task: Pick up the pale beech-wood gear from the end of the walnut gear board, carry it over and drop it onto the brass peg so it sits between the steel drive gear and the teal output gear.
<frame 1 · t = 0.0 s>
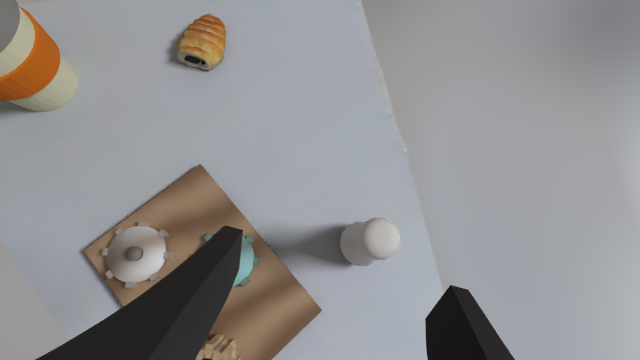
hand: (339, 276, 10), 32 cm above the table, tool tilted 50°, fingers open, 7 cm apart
reusable coffee cup: (47, 85, 46), on the table
wooden gear: (217, 358, 37), point 1 cm above the table, touching gear board
gear board: (205, 279, 40), on the table
salt shaker: (357, 244, 43), on the table
pastry: (205, 50, 49), on the table
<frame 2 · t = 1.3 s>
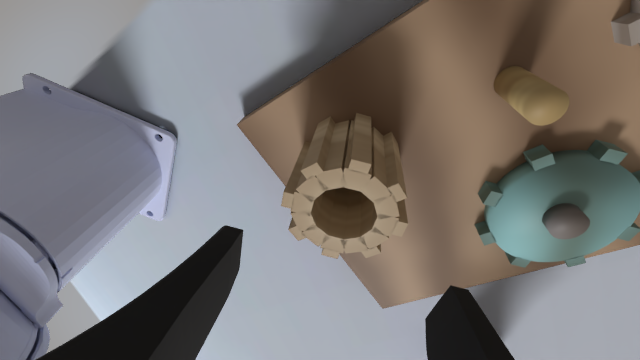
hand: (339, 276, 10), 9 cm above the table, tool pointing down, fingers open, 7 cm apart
wooden gear: (350, 159, 17), point 1 cm above the table, touching gear board
gear board: (523, 139, 17), on the table
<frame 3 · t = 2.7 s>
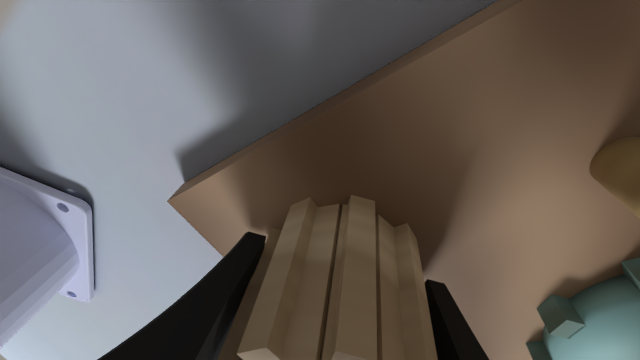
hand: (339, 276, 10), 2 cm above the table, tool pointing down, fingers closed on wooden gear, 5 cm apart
wooden gear: (341, 254, 11), point 1 cm above the table, touching gear board, gripper
gear board: (614, 233, 11), on the table
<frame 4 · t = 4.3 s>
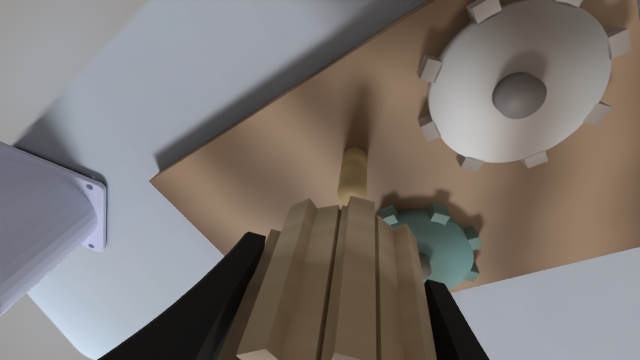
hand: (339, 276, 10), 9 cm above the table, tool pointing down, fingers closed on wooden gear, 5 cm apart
wooden gear: (341, 255, 11), point 9 cm above the table, touching gripper
gear board: (385, 196, 20), on the table
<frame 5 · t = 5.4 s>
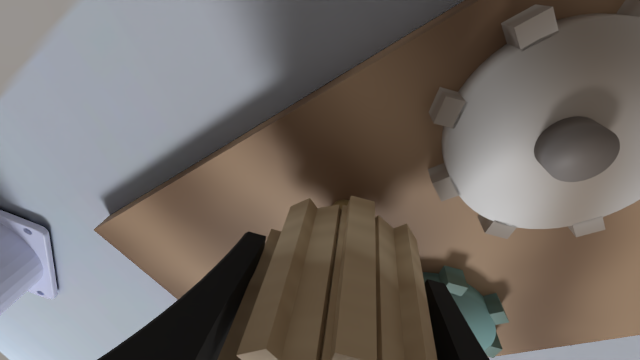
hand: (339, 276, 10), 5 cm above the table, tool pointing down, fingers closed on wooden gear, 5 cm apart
wooden gear: (341, 255, 11), point 4 cm above the table, touching gripper
gear board: (385, 251, 16), on the table
when the fingers open (3 cm above the table, at t = 6.3 s): wooden gear drops 1 cm, resting on gear board.
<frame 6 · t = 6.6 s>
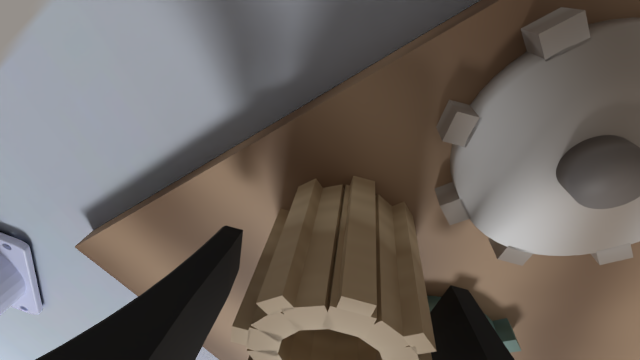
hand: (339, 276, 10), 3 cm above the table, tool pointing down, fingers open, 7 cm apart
wooden gear: (344, 233, 12), point 1 cm above the table, touching gear board
gear board: (386, 271, 15), on the table
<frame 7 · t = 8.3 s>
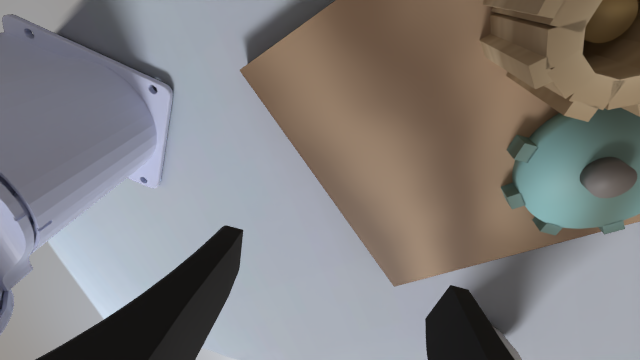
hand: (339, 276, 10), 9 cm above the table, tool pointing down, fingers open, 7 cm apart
wooden gear: (553, 10, 12), point 1 cm above the table, touching gear board
gear board: (559, 87, 15), on the table
salt shaker: (471, 331, 26), on the table
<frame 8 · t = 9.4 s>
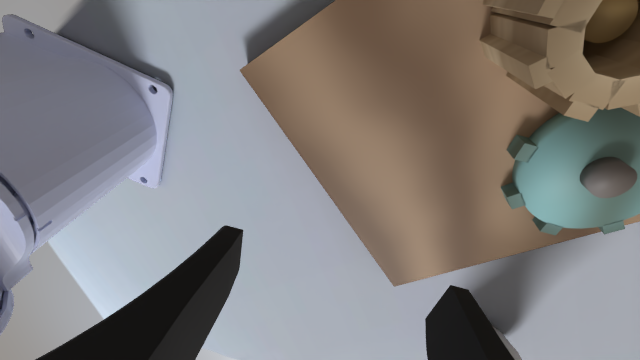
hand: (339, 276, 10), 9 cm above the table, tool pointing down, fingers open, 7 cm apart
wooden gear: (553, 10, 12), point 1 cm above the table, touching gear board
gear board: (559, 87, 15), on the table
salt shaker: (471, 331, 26), on the table
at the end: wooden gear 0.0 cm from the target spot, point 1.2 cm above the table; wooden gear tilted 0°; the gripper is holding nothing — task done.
